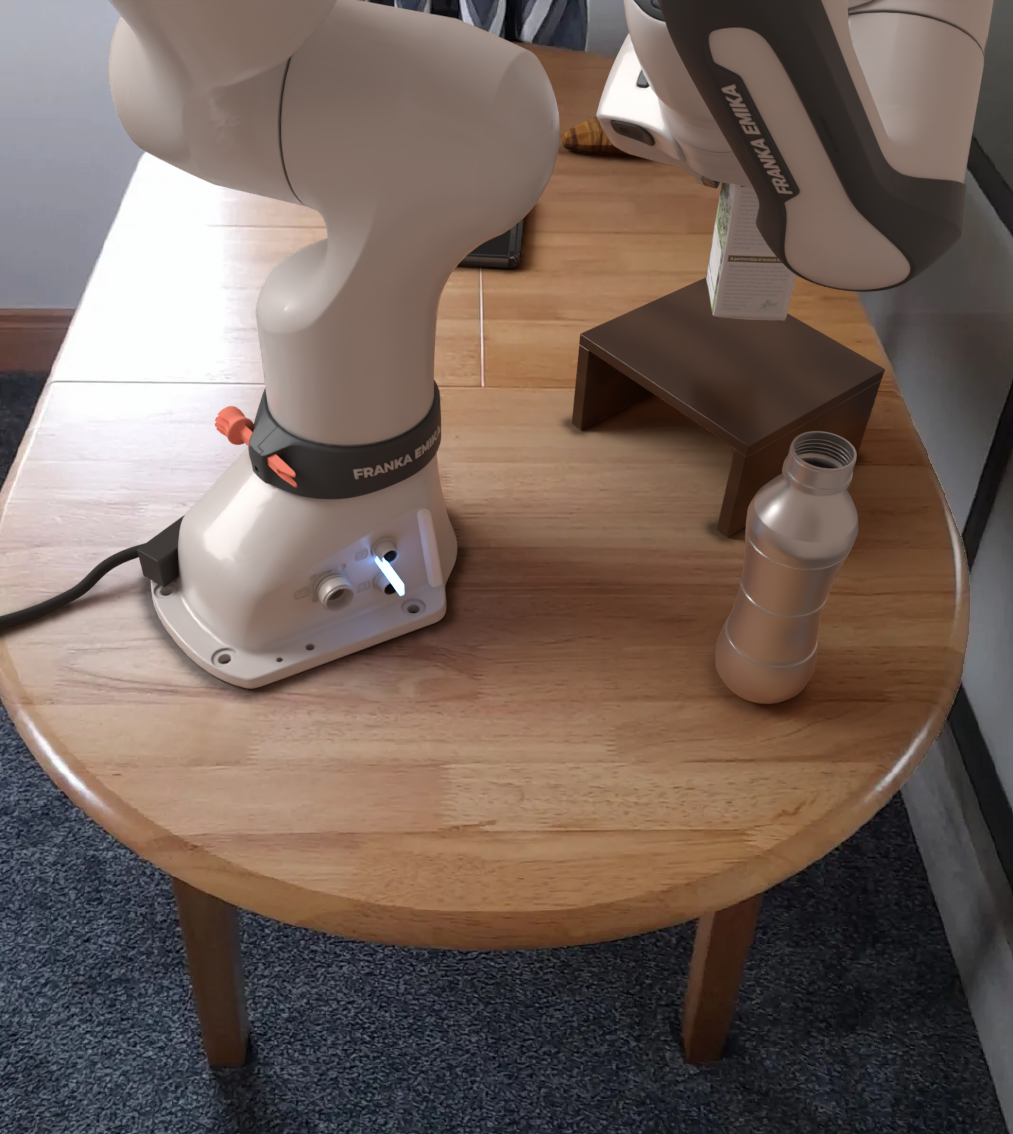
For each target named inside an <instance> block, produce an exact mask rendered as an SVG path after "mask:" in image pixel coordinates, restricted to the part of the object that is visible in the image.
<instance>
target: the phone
mask: <svg viewBox="0 0 1013 1134" xmlns="http://www.w3.org/2000/svg"><path fill="white" fill-rule="evenodd" d="M524 218H525V217H524ZM524 218H523V219H522V220H521V221H520V222H518V223H517V224H516V225H515V226H514V227H512V228H511V229H509V230H508V231H506V232H505V233H503V234H502V235H499V236H497V237H495V238H492V239H490V240H488V241H486V242H485V243H483V244H481V245H479V246H478V247H477V248H475V249H474V250H473V251H471V252H470V253H469V254H468V255H467V256H466V257H465V258H464V259H463V260H462V261H461V262H460V263H459V264H458V265H457V266H459V267H475V268H477V267H479V268H492V269H514V268H517V267H518V266H519V265H520V261H521V255H522V246H523V240H524V239H523V228H524Z"/></svg>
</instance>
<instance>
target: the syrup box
mask: <svg viewBox="0 0 1013 1134" xmlns="http://www.w3.org/2000/svg"><path fill="white" fill-rule="evenodd" d="M719 191H720V192H719V198H718V203H717V210H716V213H715V214H716V215H715V221H714V226H713V233H712V239H711V244H710V250H709V257H708V258H709V259H708V262H707V263H708V264H707V271H706V276H705V277H706V282H707V287H708V293H709V298H710V303H711V310H712V314H713V316H715V317H724V318H733V319H753V320H782V321H784V320H785V319H786V317H787V313H788V314H789V308H790V304H791V299H792V295H793V292H794V288H795V283H796V279H797V275H796V274H794V273H793V272H791V271H790V270H789V269H788V268H787V267H786V266H785V265H784V264H783V263H782V262H781V261H780V260H779V259H778V258H777V256H776V255H775V254H774V253H773V252H772V250H771V249H770V248H769V246H768V245H767V243H766V242H765V240H764V239H763V237H762V235H761V234H760V232H759V230H758V228H757V226H756V218H757V214H758V209H759V201H758V197H757V195H756V192H755V190H754V189H751V188H748V187H744V186H740V185H737V184H732V183H722V182H721V186H720V190H719Z"/></svg>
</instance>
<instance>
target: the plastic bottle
mask: <svg viewBox="0 0 1013 1134" xmlns="http://www.w3.org/2000/svg"><path fill="white" fill-rule="evenodd" d="M856 457H857V458H858V455H857V453H856V450H855V448H854V446H853V445H852V444H851V443H850V442H849V441H847V440H846V439H844V438H842V437H841V436H838V435H836V434H833V433H829V432H823V431H811V432H805V433H802V434H800V435H798V436H797V437H796V438H795V439H794V440H793V442H792V443H791V446H790V449H789V452H788V456H787V457H786V458H785V460H784V463H783V467H782V474H780V475H778V476H777V477H775V478H774V479H772V480H771V481H770V482H768V483H767V484H765V485H764V486H763V487H761V489H760V490H759V491H758V492H757V493H756V495H755V496H754V498H753V499H752V501H751V502H750V505H749V507H748V511H747V519H746V526H745V532H744V533H745V535H744V556H743V557H744V558H743V564H742V570H741V576H740V583H739V588H738V591H737V593H736V596H735V599H734V601H733V605H732V607H731V610H730V613H729V615H728V617H726V619H725V622H724V623H723V625H722V627H721V630H720V632H719V635H718V637H717V639H716V641H715V645H714V646H715V647H714V663H715V670H716V672H717V675H718V677H719V678H720V680H721V681H722V682H723V684H724V685H725V686H726V687H727V688H728V689H729V690H730V691H731V692H732V693H733V694H735V695H736V696H737V697H739V698H741V699H743V700H746V701H748V702H751V703H754V704H755V703H756V704H761V705H773V704H779V703H781V702H785V701H789V700H791V699H793V698H794V697H796V696H797V695H799V694H800V693H801V692H803V690H804V689H805V687H806V686H807V685H808V683H809V681H810V680H811V678H812V676H813V675H814V673H815V670H816V668H817V661H818V660H817V659H818V651H819V634H820V633H819V632H820V627H821V623H822V618H823V611H824V608H825V605H826V603H827V600H828V597H829V595H830V592H831V590H832V587H833V585H834V583H835V580H836V579H837V576H838V574H839V573H840V571H841V569H842V567H843V566H844V564H845V562H846V560H847V558H848V556H849V555H850V552H851V551H852V550H853V547H854V544H855V543H856V540H857V537H858V534H859V515H858V512H857V507H856V505H855V502H854V500H853V498H852V496H851V494H850V492H849V491H848V489H849V487H850V485H851V483H852V481H853V477H854V476H853V475H854V472H853V471H854V467H855V465H856V462H857V458H856Z"/></svg>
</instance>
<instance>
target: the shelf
mask: <svg viewBox="0 0 1013 1134" xmlns="http://www.w3.org/2000/svg"><path fill="white" fill-rule="evenodd" d="M578 344H579V346H578V352H577V353H578V354H577V362H576V363H577V365H576V375H575V383H574V384H575V385H574V396H573V405H572V417H571V424H572V425H573V426H574V427H576V429H579V430H581V431H582V430H584V429H586V428H588V427H590V426H592V425H593V424H596V423H598V422H600V421H602V420H604V419H606V418H608V417H611V415H613V414H617V413H618V412H619V411H622V410H623V409H626V408H628V407H631V406H632V405H633V404H635V403H637V402H640V401H641V400H642V401H643V399H645V398H648V397H650V396H651V395H654V396H656V397H657V398H659V399H660V400H662V402H664V403H666V404H668V405H669V406H670V407H672V408H674V409H675V410H676V411H678V412H679V413H681V414H682V415H684V416H686V417H687V418H688V419H690V420H691V421H692V422H694V423H696V424H697V425H699V426H700V427H702V428H703V429H705V430H706V431H708V432H709V433H711V435H713V436H715V437H717V438H718V439H719V440H721V441H723V442H724V443H725V444H727V445H728V446H730V447H731V448H732V449H734V450H733V454H732V459H731V463H730V464H731V465H730V467H729V473H728V477H727V481H726V486H725V491H724V494H723V500H722V504H721V508H720V513H719V517H718V521H717V526H716V530H717V532H720V533H721V534H722V535H724V536H725V537H727V538H729V537H731V536H733V535H734V534H735V533H737V532H739V531H740V530H742V529H743V528H746V519H747V511H748V507H749V505H750V502H751V501H752V499H753V498H754V496H755V495H756V493H757V492H758V491H759V490H760V489H761V487H763V486H764V485H765V484H767V483H768V482H770V481H771V480H772V479H774V478H775V477H777V476H778V475H780V474H782V467H783V463H784V460H785V458H786V457H787V456H788V452H789V449H790V446H791V443H792V442H793V440H794V439H795V438H796V437H797V436H798V435H800V434H802V433H805V432H811V431H823V432H829V433H833V434H836V435H838V436H841V437H842V438H844V439H846V440H847V441H849V442H850V443H851V444H852V445H853V446H854V448H855V450H856V453H857V457H856V459H857V458H858V455H859V452H860V449H861V446H862V443H863V439H864V436H865V433H866V430H867V427H868V424H869V420H870V418H871V414H872V412H873V409H874V405H875V403H876V400H877V396H878V392H879V389H880V386H881V382H882V380H883V377H884V374H885V371H886V369H885V368H884V367H882V366H881V365H879V364H877V363H876V362H874V361H872V360H870V359H868V358H867V357H865V356H863V355H862V354H859V353H858V352H856V351H854V350H852V349H851V348H849V347H848V346H845V345H844V344H842V343H840V342H839V341H837V340H835V339H833V338H832V337H830V336H828V335H826V334H825V333H823V332H821V331H819V330H818V329H816V328H814V327H812V326H810V325H809V324H807V323H806V322H804V321H802V320H800V319H798V318H796V317H795V316H793V315H791V314H789V312H788V313H787V317H786V319H785V320H784V321H782V320H753V319H733V318H724V317H715V316H713V314H712V310H711V303H710V298H709V293H708V287H707V282H706V276H705V277H703V278H701V279H698V280H697V281H694V282H693V283H690V284H688V285H686V286H683V287H681V288H679V289H677V290H675V291H671V292H670V293H668V294H665V295H663V296H661V297H659V298H656V299H655V300H652V301H650V302H648V303H646V304H643V305H641V306H639V307H637V308H634V309H632V310H630V311H628V312H626V313H623V314H620V315H619V316H617V317H615V318H614V317H613V318H612V319H610V320H608V321H605V322H604V323H601V324H599V325H597V326H595V327H592V328H591V329H588V330H585V331H583V332H581V333H579V343H578Z"/></svg>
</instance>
